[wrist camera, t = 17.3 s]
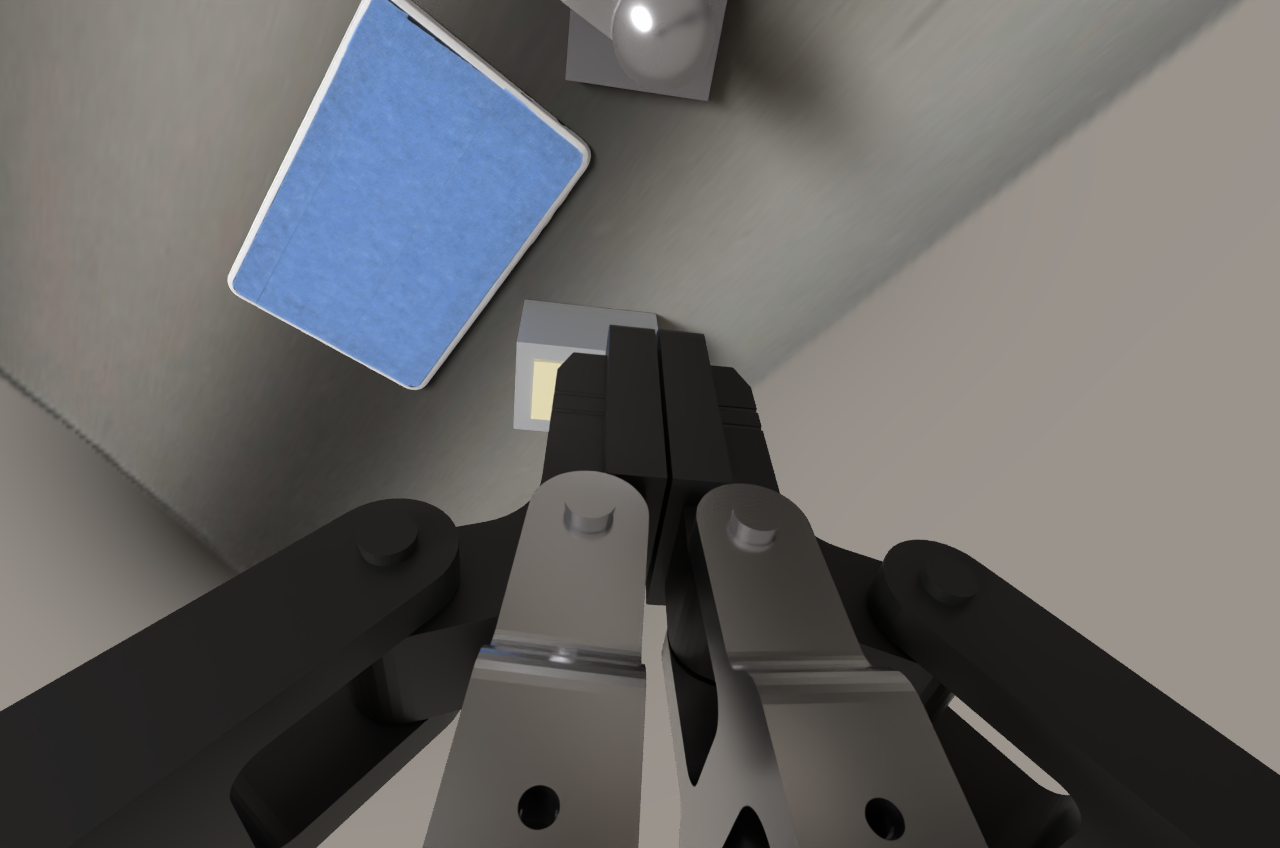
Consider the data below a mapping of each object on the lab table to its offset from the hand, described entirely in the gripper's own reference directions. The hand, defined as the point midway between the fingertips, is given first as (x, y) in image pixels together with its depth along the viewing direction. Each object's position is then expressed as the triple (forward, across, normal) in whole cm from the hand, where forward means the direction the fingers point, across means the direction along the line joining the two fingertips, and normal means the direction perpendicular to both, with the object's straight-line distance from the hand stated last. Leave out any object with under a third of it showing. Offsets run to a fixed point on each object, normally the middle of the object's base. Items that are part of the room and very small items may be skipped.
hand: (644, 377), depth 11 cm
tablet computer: (+28, +12, +9) cm, 32 cm away
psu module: (+28, +1, +16) cm, 32 cm away
